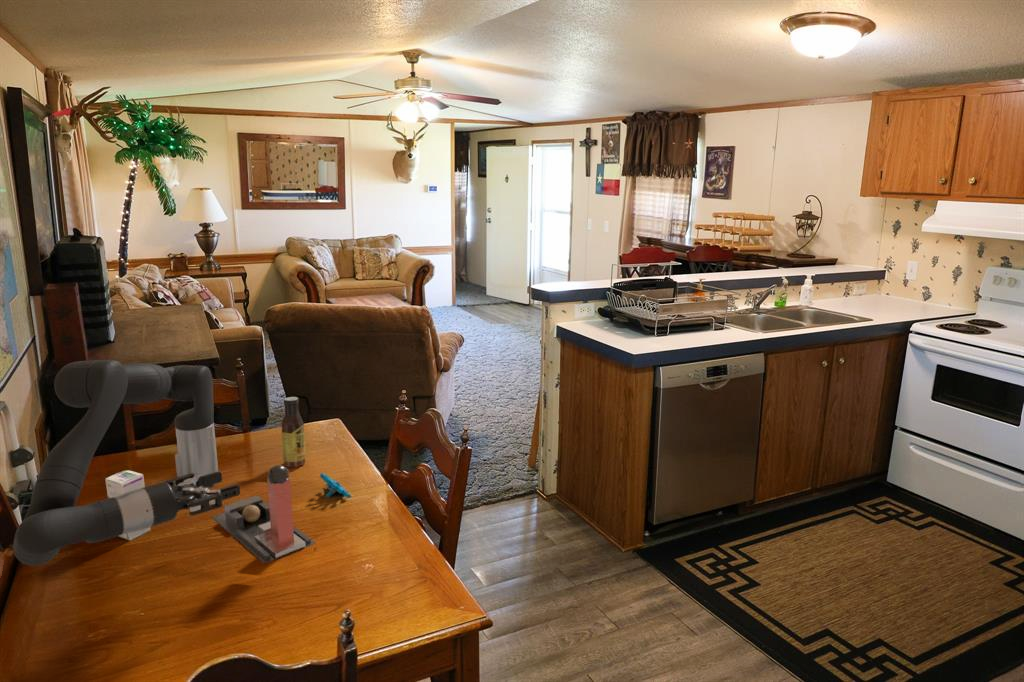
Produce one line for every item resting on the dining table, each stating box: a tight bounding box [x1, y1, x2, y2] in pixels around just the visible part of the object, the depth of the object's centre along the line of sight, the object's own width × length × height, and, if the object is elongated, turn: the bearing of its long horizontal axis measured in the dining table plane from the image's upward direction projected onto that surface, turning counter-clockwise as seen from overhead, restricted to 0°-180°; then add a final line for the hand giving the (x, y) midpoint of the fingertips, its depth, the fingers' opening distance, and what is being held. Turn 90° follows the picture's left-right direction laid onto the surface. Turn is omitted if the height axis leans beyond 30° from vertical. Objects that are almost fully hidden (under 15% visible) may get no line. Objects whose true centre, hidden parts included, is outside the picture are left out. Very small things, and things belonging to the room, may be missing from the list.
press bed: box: [211, 495, 317, 564], centre depth 156 cm, size 28×12×5 cm, turn 45°
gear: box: [319, 472, 352, 498], centre depth 174 cm, size 11×6×10 cm
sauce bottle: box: [281, 396, 306, 468], centre depth 193 cm, size 7×6×20 cm
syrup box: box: [105, 469, 151, 541], centre depth 155 cm, size 6×6×14 cm
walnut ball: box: [242, 505, 260, 522], centre depth 159 cm, size 4×4×4 cm
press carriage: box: [255, 464, 306, 558], centre depth 148 cm, size 10×7×19 cm
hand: (229, 482), depth 137 cm, fingers open, 8 cm apart
